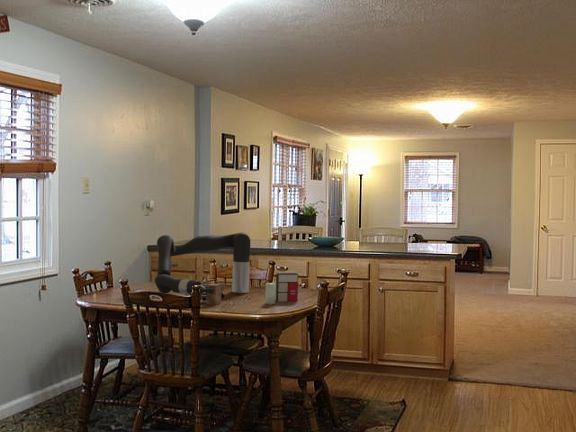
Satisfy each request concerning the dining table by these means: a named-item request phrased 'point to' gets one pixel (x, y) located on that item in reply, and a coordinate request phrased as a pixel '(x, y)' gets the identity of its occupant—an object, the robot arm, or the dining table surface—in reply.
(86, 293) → the dining table surface
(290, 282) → the miniature cabinet
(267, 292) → the sage cylinder
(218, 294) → the walnut block
